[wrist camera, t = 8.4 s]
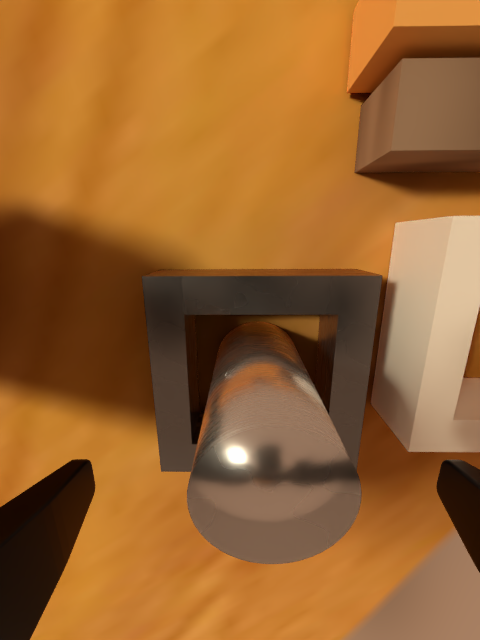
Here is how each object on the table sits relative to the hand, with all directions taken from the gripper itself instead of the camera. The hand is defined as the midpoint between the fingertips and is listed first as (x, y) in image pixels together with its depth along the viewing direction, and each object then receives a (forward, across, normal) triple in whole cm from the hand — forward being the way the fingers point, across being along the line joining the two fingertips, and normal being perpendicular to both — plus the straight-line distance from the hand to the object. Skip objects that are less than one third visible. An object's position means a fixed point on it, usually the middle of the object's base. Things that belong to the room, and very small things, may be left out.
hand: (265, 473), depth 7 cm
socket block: (+7, 0, 0) cm, 7 cm away
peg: (+7, 0, 0) cm, 7 cm away
